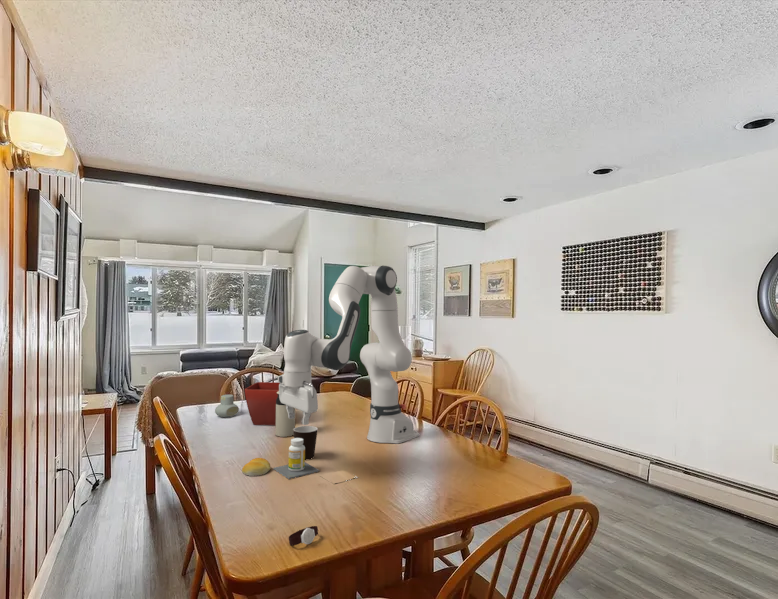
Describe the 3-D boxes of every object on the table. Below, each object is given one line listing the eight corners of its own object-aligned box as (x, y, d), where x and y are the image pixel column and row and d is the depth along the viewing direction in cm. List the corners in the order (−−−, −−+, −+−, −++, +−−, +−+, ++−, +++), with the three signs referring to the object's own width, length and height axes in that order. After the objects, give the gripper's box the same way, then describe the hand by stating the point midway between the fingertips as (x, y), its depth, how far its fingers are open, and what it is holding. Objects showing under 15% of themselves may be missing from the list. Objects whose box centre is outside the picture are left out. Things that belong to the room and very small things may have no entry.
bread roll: (238, 476, 145) (238, 463, 145) (251, 466, 154) (251, 454, 154) (262, 478, 143) (262, 465, 143) (274, 468, 152) (274, 456, 152)
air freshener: (222, 419, 214) (223, 398, 215) (211, 417, 219) (212, 396, 219) (241, 415, 224) (242, 394, 224) (230, 412, 228) (231, 392, 228)
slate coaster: (303, 462, 157) (303, 461, 157) (319, 471, 149) (319, 470, 149) (273, 469, 150) (273, 467, 150) (288, 479, 142) (288, 477, 142)
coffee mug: (312, 462, 158) (312, 433, 158) (288, 460, 160) (289, 431, 160) (323, 451, 169) (323, 424, 170) (301, 449, 171) (302, 423, 171)
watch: (296, 551, 101) (296, 535, 101) (283, 544, 104) (283, 528, 104) (322, 538, 107) (323, 522, 107) (309, 531, 110) (310, 516, 110)
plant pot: (286, 427, 201) (286, 389, 202) (243, 427, 202) (243, 389, 202) (295, 417, 221) (296, 382, 221) (256, 416, 221) (256, 382, 221)
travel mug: (292, 437, 187) (293, 393, 187) (273, 437, 187) (273, 393, 187) (296, 432, 195) (297, 390, 195) (278, 431, 195) (278, 389, 195)
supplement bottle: (295, 473, 146) (295, 443, 146) (284, 469, 149) (285, 439, 150) (308, 468, 150) (308, 439, 150) (297, 464, 154) (298, 436, 154)
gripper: (322, 382, 144) (322, 426, 144) (292, 374, 160) (292, 413, 160) (304, 385, 140) (305, 430, 140) (275, 376, 156) (275, 416, 156)
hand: (298, 421), depth 150 cm, fingers open, 8 cm apart
